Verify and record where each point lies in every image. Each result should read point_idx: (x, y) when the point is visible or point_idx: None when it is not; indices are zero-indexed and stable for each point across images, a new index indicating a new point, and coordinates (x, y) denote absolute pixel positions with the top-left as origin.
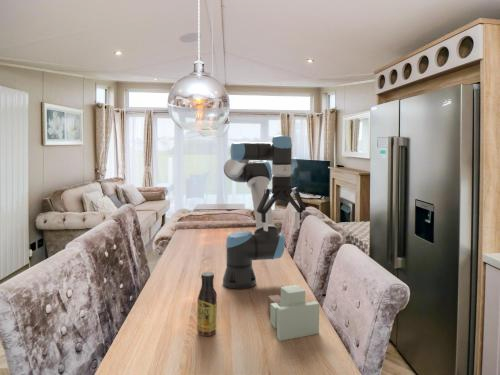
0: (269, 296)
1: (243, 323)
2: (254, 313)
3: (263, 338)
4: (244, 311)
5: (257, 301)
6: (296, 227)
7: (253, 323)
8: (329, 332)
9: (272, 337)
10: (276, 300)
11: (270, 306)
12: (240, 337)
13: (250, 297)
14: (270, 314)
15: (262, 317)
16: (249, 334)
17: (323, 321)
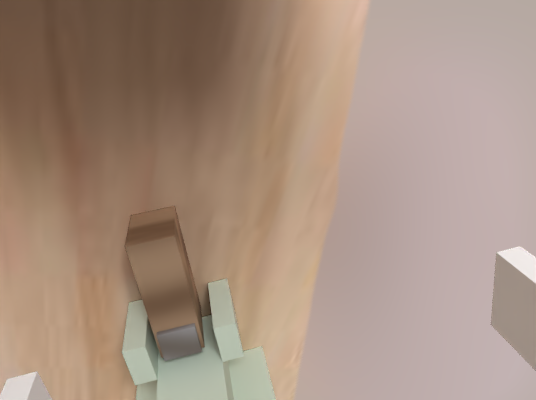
0: (131, 252)
1: (26, 299)
2: (71, 228)
3: (96, 380)
4: (25, 208)
5: (90, 111)
6: (500, 301)
7: (65, 301)
8: (295, 354)
9: (124, 376)
10: (157, 292)
11: (123, 344)
12: None
13: (53, 54)
14: (126, 323)
15: (103, 262)
16: (50, 362)
17: (307, 298)
